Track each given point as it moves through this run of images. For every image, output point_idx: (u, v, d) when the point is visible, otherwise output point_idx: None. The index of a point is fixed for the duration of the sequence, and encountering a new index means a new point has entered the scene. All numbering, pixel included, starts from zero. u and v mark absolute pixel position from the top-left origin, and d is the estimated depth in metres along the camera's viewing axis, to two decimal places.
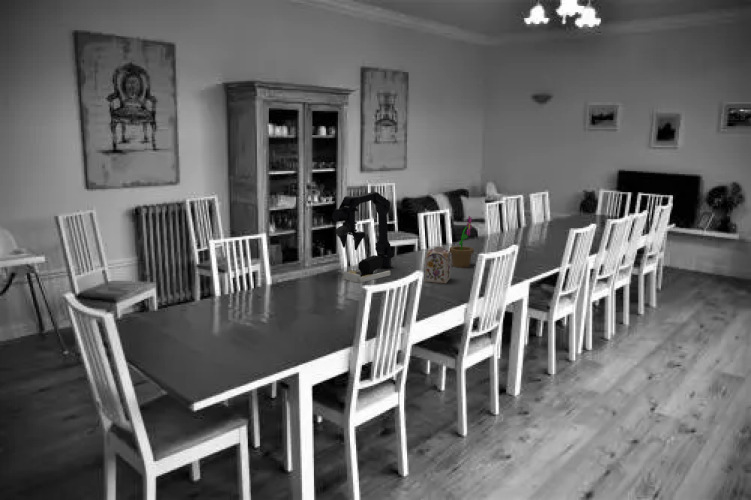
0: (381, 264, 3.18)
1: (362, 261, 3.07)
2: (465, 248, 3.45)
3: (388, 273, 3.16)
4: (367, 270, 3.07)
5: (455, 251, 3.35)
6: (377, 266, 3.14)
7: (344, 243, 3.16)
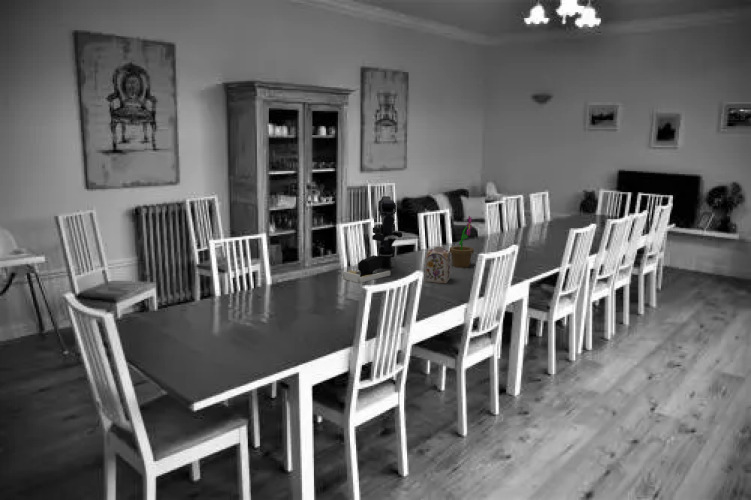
0: (381, 264, 3.17)
1: (362, 261, 3.07)
2: (465, 248, 3.45)
3: (388, 273, 3.16)
4: (367, 270, 3.07)
5: (455, 251, 3.35)
6: (377, 266, 3.13)
7: (388, 247, 3.21)
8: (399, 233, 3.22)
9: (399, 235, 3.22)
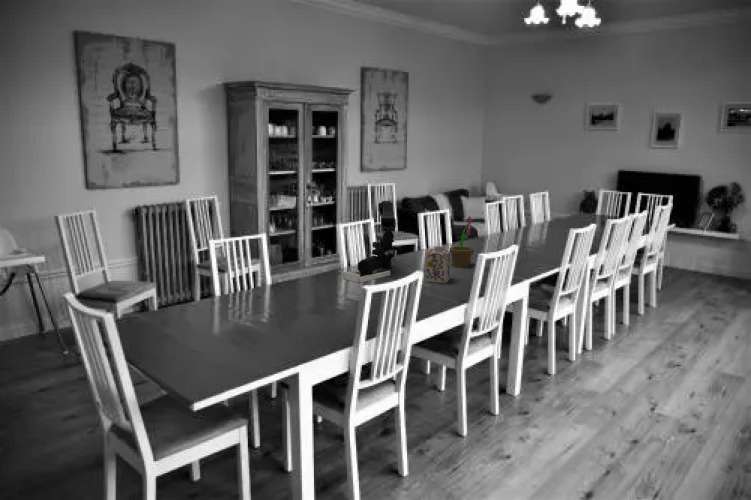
0: (380, 264, 3.17)
1: (361, 261, 3.07)
2: (465, 248, 3.45)
3: (388, 273, 3.16)
4: (366, 270, 3.06)
5: (455, 251, 3.35)
6: (376, 266, 3.13)
7: None
8: (399, 247, 3.24)
9: (399, 249, 3.24)
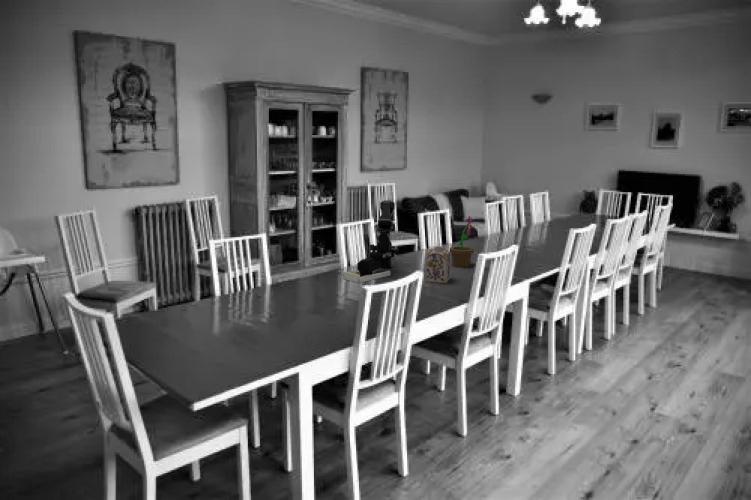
0: (380, 264, 3.17)
1: (361, 261, 3.07)
2: (465, 248, 3.45)
3: (388, 273, 3.16)
4: (366, 270, 3.06)
5: (455, 251, 3.35)
6: (376, 266, 3.13)
7: None
8: (396, 250, 3.23)
9: (396, 252, 3.22)
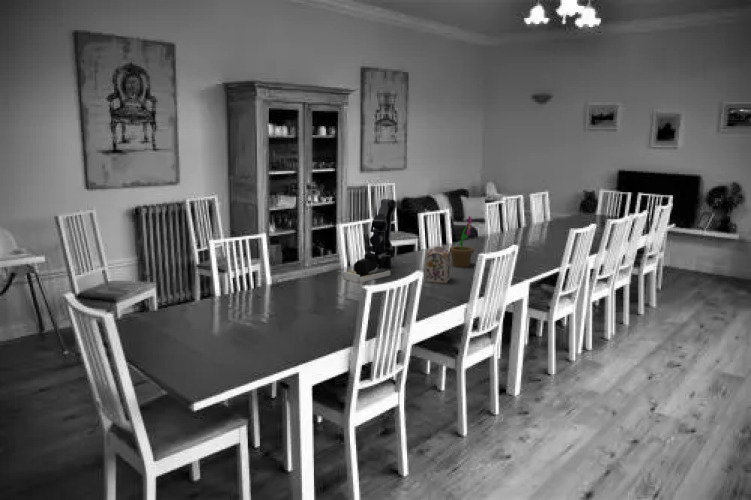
0: (376, 265, 3.15)
1: (357, 262, 3.05)
2: (465, 248, 3.45)
3: (388, 273, 3.16)
4: (363, 271, 3.04)
5: (455, 251, 3.35)
6: (372, 267, 3.11)
7: (379, 265, 3.19)
8: (391, 250, 3.20)
9: (391, 252, 3.20)
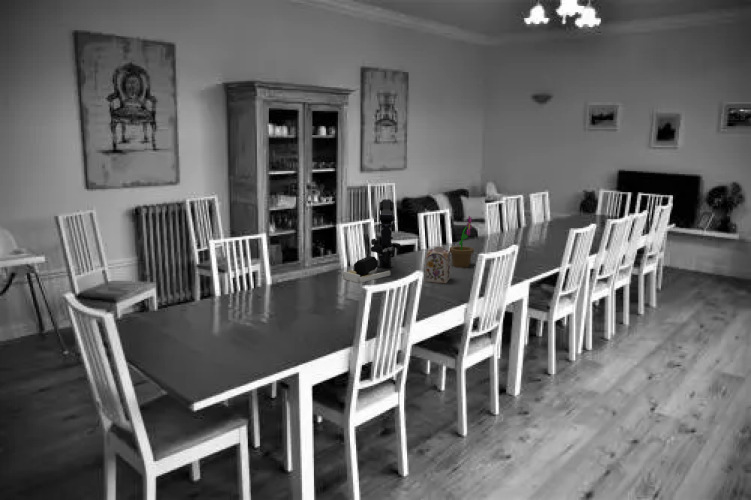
0: (376, 265, 3.15)
1: (358, 262, 3.04)
2: (465, 248, 3.45)
3: (388, 273, 3.16)
4: (363, 271, 3.04)
5: (455, 251, 3.35)
6: (372, 267, 3.11)
7: None
8: (398, 245, 3.23)
9: (398, 247, 3.22)
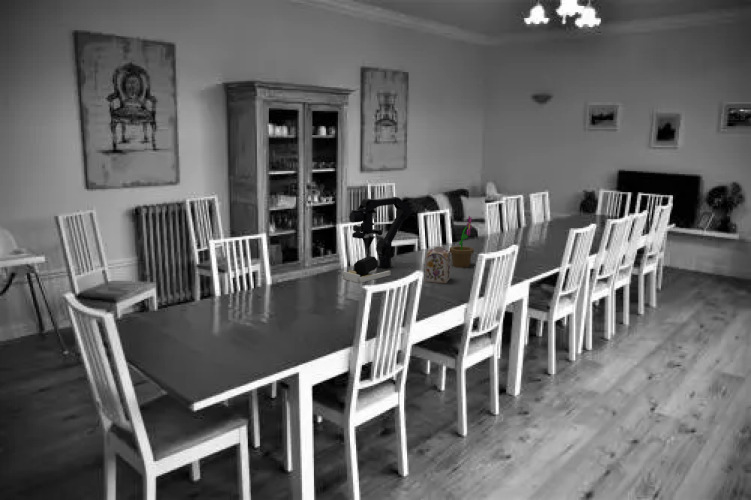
0: (376, 265, 3.15)
1: (358, 262, 3.04)
2: (465, 248, 3.45)
3: (388, 273, 3.16)
4: (363, 271, 3.04)
5: (455, 251, 3.35)
6: (372, 267, 3.11)
7: None
8: (379, 231, 3.28)
9: (379, 233, 3.28)
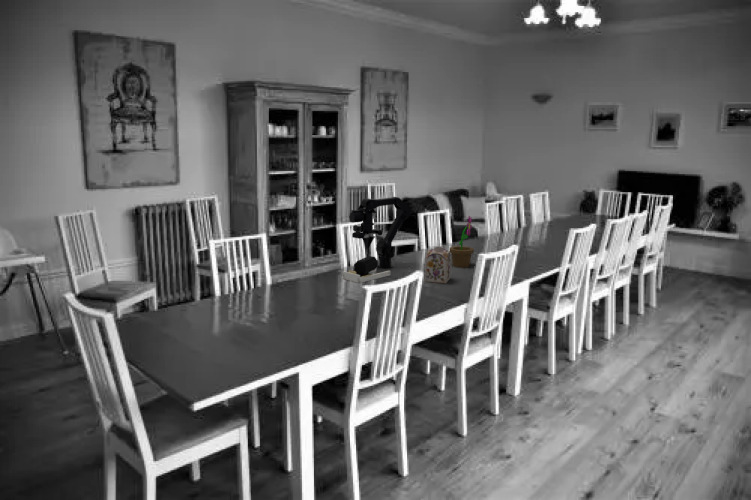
0: (376, 265, 3.15)
1: (358, 262, 3.04)
2: (465, 248, 3.45)
3: (388, 273, 3.16)
4: (363, 271, 3.04)
5: (455, 251, 3.35)
6: (372, 267, 3.11)
7: None
8: (379, 231, 3.28)
9: (379, 233, 3.28)
